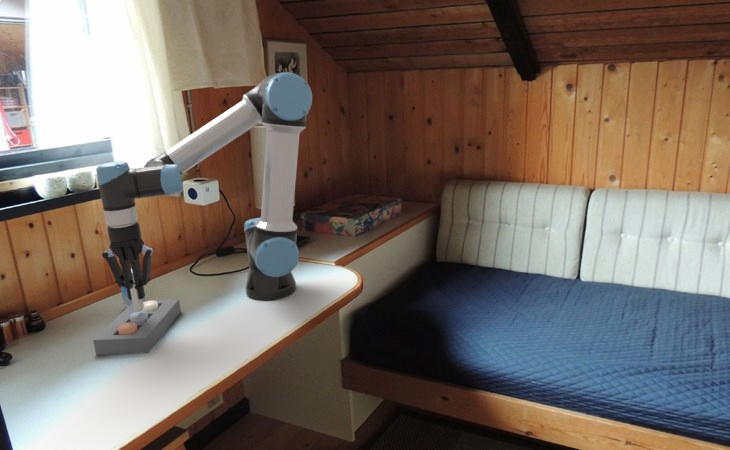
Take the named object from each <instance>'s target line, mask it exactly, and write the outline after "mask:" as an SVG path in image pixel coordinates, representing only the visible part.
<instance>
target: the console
mask: <svg viewBox="0 0 730 450" xmlns="http://www.w3.org/2000/svg"><path fill="white" fill-rule="evenodd" d="M146 301H147V300H146ZM146 301H143V303H144V302H146ZM150 301H157V303H158V309H157V310H156V311H146V312H147V313H148V320H147V321H146V322H137V323H136V324H137V329H138V331H137V332H136V333H135V334H130V335H119V331H118V326H120V325H121V324H124V323H128V322H131V321H130V315H131V314H132V313H134V307H133V303H132V304H131V305H129V306H128V307H127V308H126V309H125V308H124V310H123V311H122V312H121V313H120V314H119V315H118V316H116V317H115V319H113V321H111V322H110V324H108V325H107V326H106V327H105V328H104V329H103V330H102V331H101V332H100V333H99V334H98V335H96V336H95V338H93V340H92V342H93V347H94V351H95V355H96V356H98V355H99V356H100V355H101V356H102V355H106V356H107V355H124V354H126V355H127V354H149V353H150V351H151V350H152V348H153V347H154V346H155V345H156V344H157V343H158V341H159V340H160V339H161V338H162V337H163V335H165V333H166V331H167V330H168V329H169V328H170V326H171V325H172V324H173V323H174V322H175V320H176V319H177V318H178V317H179V315H180V314H181V313H182V311H181V303H180V299H179V298H178V299H175V298H174V299H155V300H154V299H151V300H150Z"/></svg>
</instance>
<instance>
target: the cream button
mask: <svg viewBox="0 0 730 450" xmlns="http://www.w3.org/2000/svg"><path fill="white" fill-rule="evenodd" d="M143 304H144V309H143V310H142V311H156V310H157V309H158V303H157V301H151V300H146V302H144V303H143Z"/></svg>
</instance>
